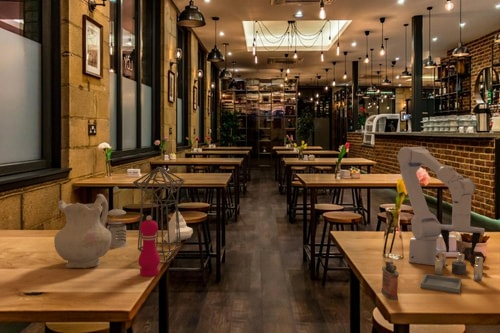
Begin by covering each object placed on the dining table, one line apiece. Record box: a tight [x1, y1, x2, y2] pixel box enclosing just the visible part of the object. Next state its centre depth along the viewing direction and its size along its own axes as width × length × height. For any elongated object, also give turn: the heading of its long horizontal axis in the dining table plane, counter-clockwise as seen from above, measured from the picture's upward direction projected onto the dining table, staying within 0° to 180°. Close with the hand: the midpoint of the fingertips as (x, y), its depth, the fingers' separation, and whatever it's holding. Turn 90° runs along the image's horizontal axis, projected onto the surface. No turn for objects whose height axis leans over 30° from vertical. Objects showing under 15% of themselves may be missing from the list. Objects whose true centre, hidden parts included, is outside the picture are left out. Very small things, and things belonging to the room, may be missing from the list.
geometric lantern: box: [132, 166, 186, 264], centre depth 173 cm, size 16×16×35 cm
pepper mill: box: [138, 215, 161, 278], centre depth 156 cm, size 7×7×20 cm
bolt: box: [460, 246, 486, 266], centre depth 177 cm, size 6×5×15 cm
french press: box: [104, 186, 129, 249], centre depth 194 cm, size 10×12×25 cm
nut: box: [451, 260, 467, 276], centre depth 160 cm, size 4×5×4 cm
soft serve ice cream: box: [163, 210, 194, 243], centre depth 205 cm, size 12×15×14 cm
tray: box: [420, 273, 462, 295], centre depth 147 cm, size 11×11×2 cm
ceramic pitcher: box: [53, 193, 112, 269], centre depth 168 cm, size 22×20×25 cm
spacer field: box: [434, 251, 484, 282], centre depth 160 cm, size 14×15×5 cm
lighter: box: [381, 260, 399, 301], centre depth 137 cm, size 8×3×10 cm, turn 5°
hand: (459, 253), depth 159 cm, fingers open, 7 cm apart
